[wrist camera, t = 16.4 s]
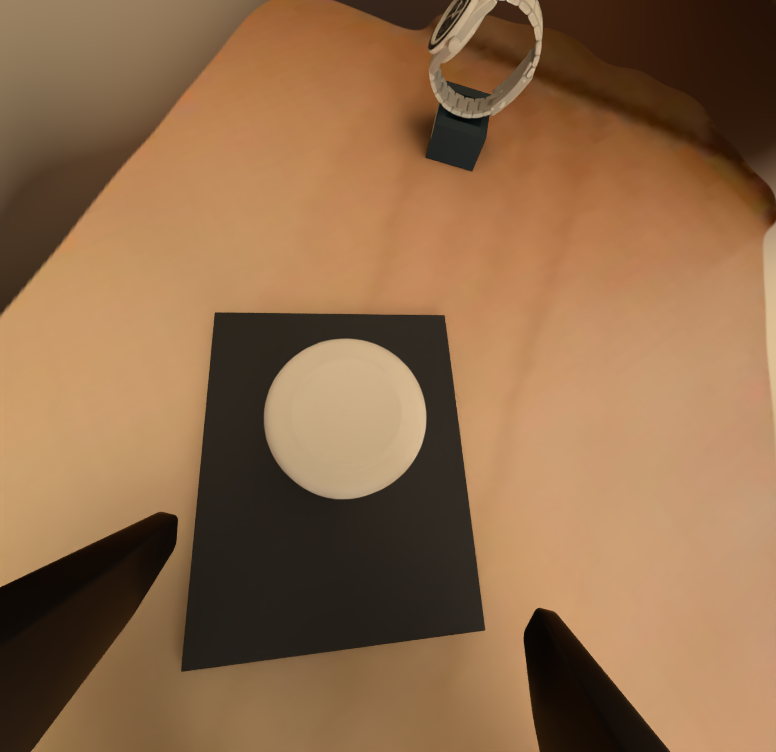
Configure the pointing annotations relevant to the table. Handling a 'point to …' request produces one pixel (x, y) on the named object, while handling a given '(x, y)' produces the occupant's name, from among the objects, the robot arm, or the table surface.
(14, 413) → the table surface
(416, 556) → the desk mat
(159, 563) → the robot arm
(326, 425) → the sprinkles bottle
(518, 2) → the watch
